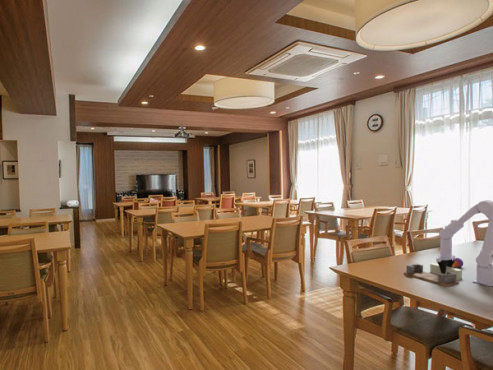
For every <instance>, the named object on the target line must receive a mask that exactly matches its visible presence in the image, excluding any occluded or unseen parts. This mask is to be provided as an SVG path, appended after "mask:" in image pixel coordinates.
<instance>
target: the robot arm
mask: <svg viewBox="0 0 493 370" xmlns="http://www.w3.org/2000/svg"><path fill="white" fill-rule="evenodd" d="M478 214H483V215H484V216H485V217H486V218H487V219H488V220H489V221H488V224H487V227H486V232H485V236H484V239H483V243H482V247H481V250H480V252H479V254H478V255H477V257H476V258H475V263H476V279H475V280H472V282H473V283H475V284H480V285H484V286H488V287H491V286H493V201H492V200H489V199H486V200H482V201H479V202H478V203H477V204H475V205H473V206H472V207H471V208H469V209H468V210H467V211H466V212H465V213H464V214H463V215H462V216H461V217H459V218H458V219H457V218H454V219H451V220H450V223H449V224H447V225H445V226H444V228H441V229H440V231H439V233H438V234H439V237H440V243H439V245H440V246H439V247H440V248H439V252H440V253H439V254H440V255H438V257H436V260H435V261H436V264H438V265H439V267H440V271H441V273H443V274H445V273H446V267H447V266H448V267H452V266H453V264H454V263H455V261H454V260H453V259H455V258H456V256H455V255H452V254H453V252H452V250H453V249H452V248H453V238H454V235H455V234H457V232H459V231H460V230H462V229H463V228H464V227H465V225H464V224H465V223H466V222H467V221H469V220H470V219H471V218H473V217H474V216H476V215H478Z"/></svg>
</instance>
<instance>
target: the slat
mask: <svg viewBox="0 0 493 370" xmlns="http://www.w3.org/2000/svg"><path fill="white" fill-rule="evenodd" d="M429 267H430V269H429V273H430V274H434V275H438V274H443V273H441V271H440V267H439V265H438V263H437V262H436V263H435V262H433V263H430V265H429ZM447 272H451V273H455V274H456V281H459V280H461V279H462V280H463V269H461V268H460V269H459V268H457V267H453V268H452V267H448V266H447V267H446V273H445V274H443V275H447Z"/></svg>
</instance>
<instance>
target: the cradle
mask: <svg viewBox="0 0 493 370" xmlns="http://www.w3.org/2000/svg"><path fill="white" fill-rule="evenodd" d="M403 275H406V276H409V277H412V278H416V279H419V280H423V281H426V282H429V283H432V284H435V285H438V286H442V287H445V288H447V287H451V286H455V285H458V284H460V281H459V280H457V279H456V274H455V273H451V272H447V275H443V274H435V273H431V272H426V271H424V265H423V264H419V263H412V264H407V265H406V271H404V272H403Z"/></svg>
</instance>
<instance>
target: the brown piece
mask: <svg viewBox="0 0 493 370" xmlns="http://www.w3.org/2000/svg"><path fill="white" fill-rule="evenodd" d="M452 260H454V261H455V263H454V264H453V266H452V268H456V269H459V268H460V269H461V268H462V267H463V266H464V261H463V259H462V258H459V257H455V259H452Z"/></svg>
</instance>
